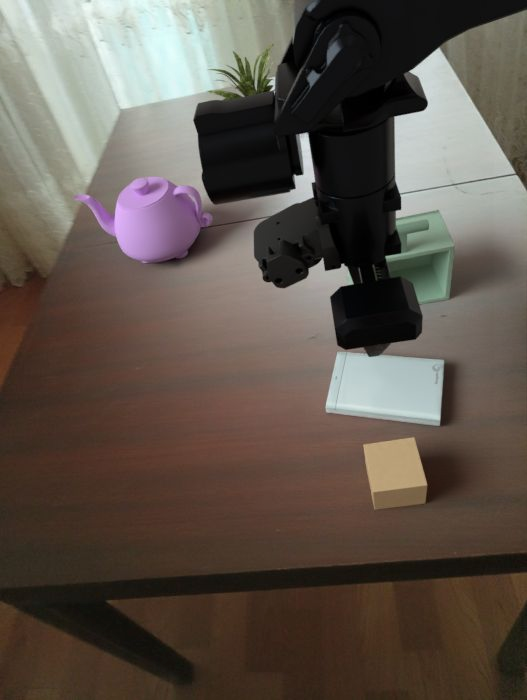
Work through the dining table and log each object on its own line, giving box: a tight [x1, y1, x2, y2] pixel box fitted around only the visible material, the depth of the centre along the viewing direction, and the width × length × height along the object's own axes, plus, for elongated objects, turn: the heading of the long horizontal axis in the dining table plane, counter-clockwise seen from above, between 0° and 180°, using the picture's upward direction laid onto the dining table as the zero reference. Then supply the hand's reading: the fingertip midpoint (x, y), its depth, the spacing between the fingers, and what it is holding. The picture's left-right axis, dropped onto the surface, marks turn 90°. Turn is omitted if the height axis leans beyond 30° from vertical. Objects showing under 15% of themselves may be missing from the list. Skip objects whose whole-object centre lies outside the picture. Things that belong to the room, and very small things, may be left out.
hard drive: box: [325, 351, 445, 427], centre depth 57 cm, size 2×8×12 cm
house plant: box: [206, 43, 275, 100], centre depth 93 cm, size 14×14×16 cm
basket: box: [346, 209, 456, 305], centre depth 62 cm, size 13×12×7 cm
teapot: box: [73, 176, 213, 264], centre depth 80 cm, size 20×14×12 cm
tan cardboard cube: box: [363, 436, 428, 511], centre depth 49 cm, size 5×5×4 cm
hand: (366, 317), depth 48 cm, fingers open, 9 cm apart
